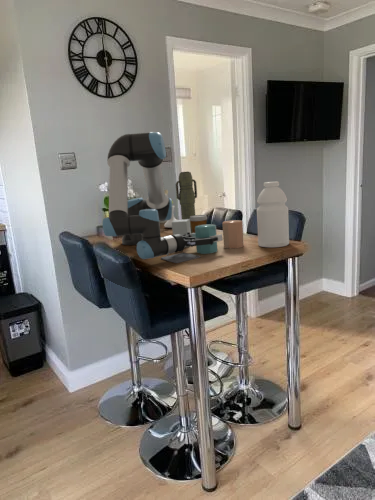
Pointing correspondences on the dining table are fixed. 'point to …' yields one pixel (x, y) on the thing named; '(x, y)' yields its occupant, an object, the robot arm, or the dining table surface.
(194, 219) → the disposable coffee cup
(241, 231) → the terracotta cup
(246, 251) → the dining table surface
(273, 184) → the bottle
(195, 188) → the thermos
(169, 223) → the flower in vase
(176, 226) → the supplement box
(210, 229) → the teal cup
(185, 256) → the coaster
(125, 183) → the robot arm
